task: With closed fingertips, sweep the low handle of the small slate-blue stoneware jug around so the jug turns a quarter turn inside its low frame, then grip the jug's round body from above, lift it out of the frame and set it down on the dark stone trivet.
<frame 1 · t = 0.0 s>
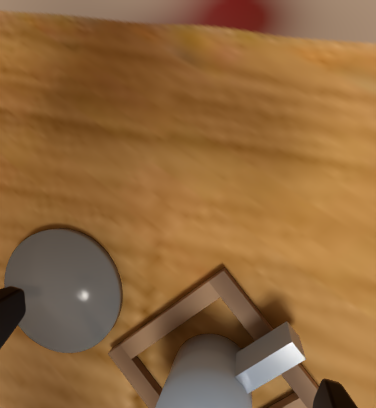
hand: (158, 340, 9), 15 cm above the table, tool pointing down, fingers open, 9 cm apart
frame: (212, 371, 25), on the table
jug: (212, 370, 25), resting in frame
trivet: (64, 289, 27), on the table
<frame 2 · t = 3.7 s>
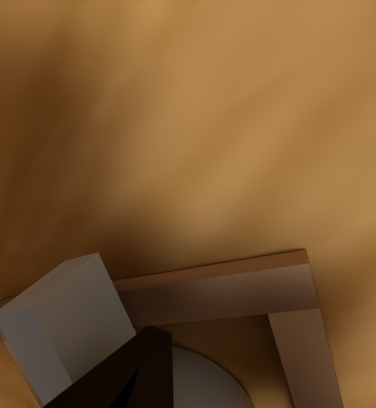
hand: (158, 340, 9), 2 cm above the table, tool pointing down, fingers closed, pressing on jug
frame: (179, 407, 13), on the table
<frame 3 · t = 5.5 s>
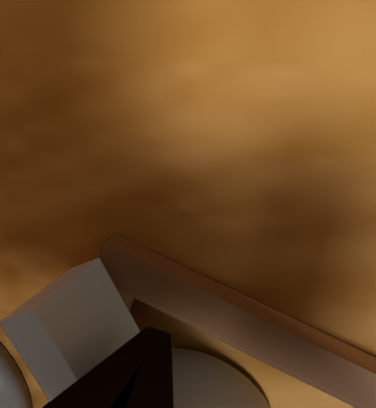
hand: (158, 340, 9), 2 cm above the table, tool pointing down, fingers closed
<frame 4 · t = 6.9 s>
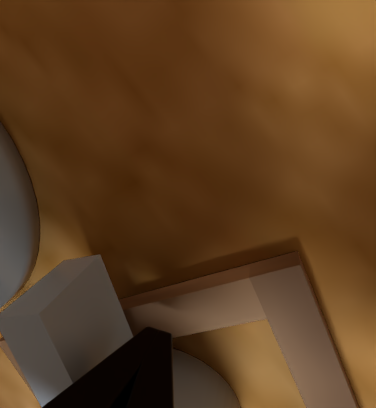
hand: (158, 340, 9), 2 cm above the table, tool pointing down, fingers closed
jug: (165, 405, 13), resting in frame, touching gripper
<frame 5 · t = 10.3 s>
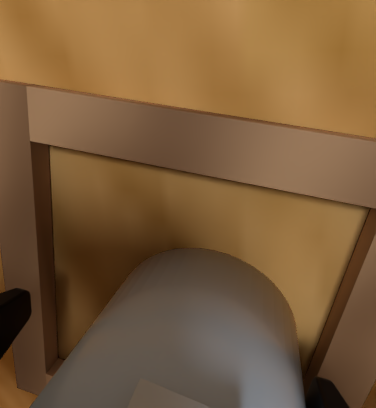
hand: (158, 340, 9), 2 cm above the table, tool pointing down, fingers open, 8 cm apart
frame: (176, 298, 11), on the table
jug: (201, 328, 11), resting in frame, touching gripper
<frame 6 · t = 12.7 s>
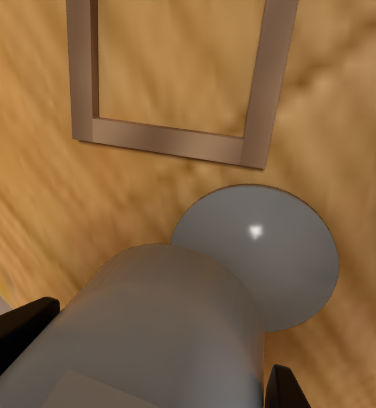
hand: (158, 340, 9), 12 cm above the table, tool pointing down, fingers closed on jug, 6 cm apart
frame: (174, 41, 17), on the table
jug: (171, 324, 11), point 11 cm above the table, touching gripper
trivet: (249, 260, 21), on the table
when the fingers open (4 cm above the table, at t = 15.0 s): jug stays where it is, resting on trivet.
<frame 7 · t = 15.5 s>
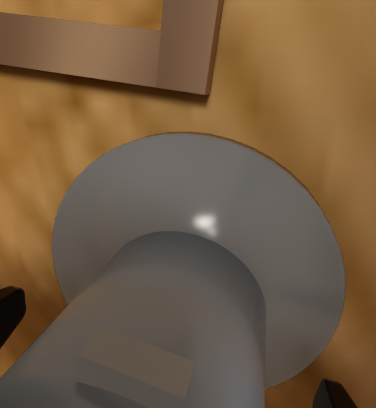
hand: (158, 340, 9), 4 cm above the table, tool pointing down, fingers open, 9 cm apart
jug: (180, 306, 12), point 1 cm above the table, touching trivet
trivet: (188, 273, 12), on the table
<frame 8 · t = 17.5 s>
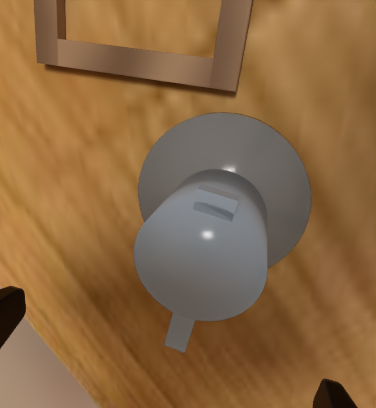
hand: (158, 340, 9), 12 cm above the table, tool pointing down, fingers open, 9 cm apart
jug: (216, 217, 20), point 1 cm above the table, touching trivet
trivet: (220, 198, 20), on the table
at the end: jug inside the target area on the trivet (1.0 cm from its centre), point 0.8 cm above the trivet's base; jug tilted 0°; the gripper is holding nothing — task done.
